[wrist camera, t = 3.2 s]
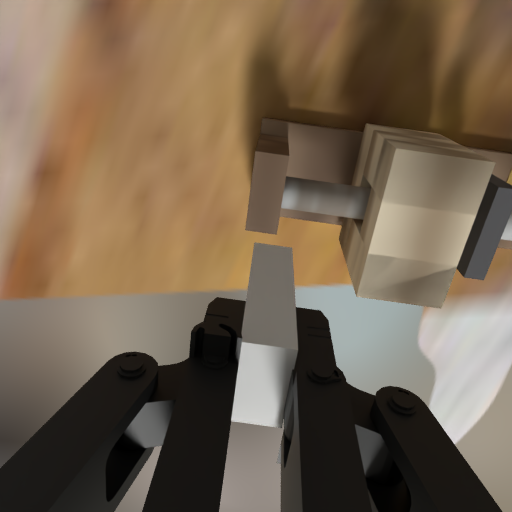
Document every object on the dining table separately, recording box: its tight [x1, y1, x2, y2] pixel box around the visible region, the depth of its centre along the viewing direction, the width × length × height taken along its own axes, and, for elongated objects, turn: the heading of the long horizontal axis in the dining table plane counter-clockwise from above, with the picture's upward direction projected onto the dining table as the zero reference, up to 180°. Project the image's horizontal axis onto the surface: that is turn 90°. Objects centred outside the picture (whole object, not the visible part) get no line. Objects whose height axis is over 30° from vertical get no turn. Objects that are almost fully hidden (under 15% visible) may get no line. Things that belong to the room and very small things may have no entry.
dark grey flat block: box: [457, 174, 512, 280], centre depth 27 cm, size 1×6×6 cm, turn 173°
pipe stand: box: [245, 117, 512, 249], centre depth 29 cm, size 22×7×7 cm, turn 83°
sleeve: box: [339, 123, 496, 308], centre depth 27 cm, size 5×9×9 cm, turn 172°
